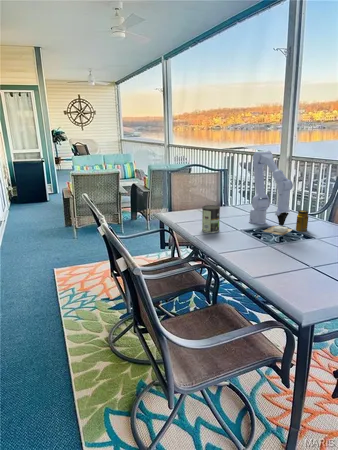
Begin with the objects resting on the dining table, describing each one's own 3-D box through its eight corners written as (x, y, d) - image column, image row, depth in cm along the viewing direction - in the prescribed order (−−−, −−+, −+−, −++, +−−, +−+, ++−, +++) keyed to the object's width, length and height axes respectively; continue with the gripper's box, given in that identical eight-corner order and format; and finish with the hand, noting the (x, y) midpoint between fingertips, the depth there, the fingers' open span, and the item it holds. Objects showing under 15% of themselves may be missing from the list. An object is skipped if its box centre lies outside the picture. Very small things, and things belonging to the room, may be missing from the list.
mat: (262, 232, 184) (262, 231, 184) (273, 226, 194) (273, 225, 194) (282, 236, 176) (282, 235, 176) (292, 230, 186) (293, 229, 186)
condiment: (292, 229, 187) (294, 210, 184) (305, 228, 189) (307, 209, 186) (299, 233, 181) (301, 213, 177) (313, 232, 182) (315, 212, 179)
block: (277, 228, 188) (273, 231, 184) (277, 225, 187) (273, 228, 183) (287, 230, 184) (283, 233, 180) (288, 227, 184) (283, 230, 179)
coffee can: (219, 228, 193) (220, 205, 189) (218, 233, 183) (219, 209, 179) (202, 227, 195) (203, 204, 191) (200, 232, 185) (201, 208, 181)
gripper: (285, 205, 172) (282, 229, 176) (295, 200, 182) (293, 223, 186) (272, 203, 176) (270, 226, 180) (283, 199, 186) (281, 221, 190)
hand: (281, 225), depth 183 cm, fingers closed
